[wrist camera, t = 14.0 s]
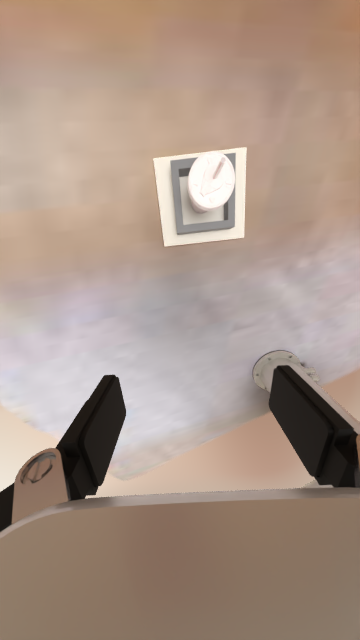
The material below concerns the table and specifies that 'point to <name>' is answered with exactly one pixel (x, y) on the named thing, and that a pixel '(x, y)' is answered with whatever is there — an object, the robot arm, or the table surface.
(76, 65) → the table surface
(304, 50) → the table surface
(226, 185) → the smoothie
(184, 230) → the socket board
